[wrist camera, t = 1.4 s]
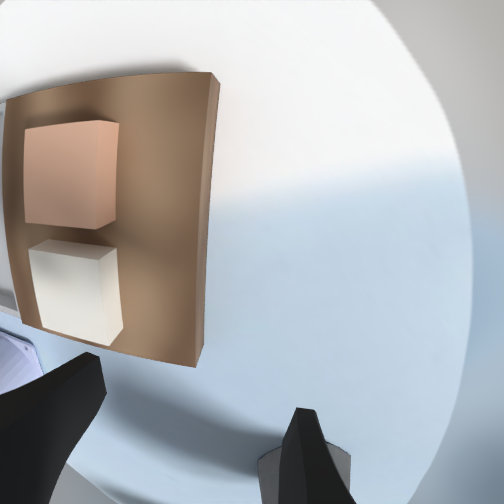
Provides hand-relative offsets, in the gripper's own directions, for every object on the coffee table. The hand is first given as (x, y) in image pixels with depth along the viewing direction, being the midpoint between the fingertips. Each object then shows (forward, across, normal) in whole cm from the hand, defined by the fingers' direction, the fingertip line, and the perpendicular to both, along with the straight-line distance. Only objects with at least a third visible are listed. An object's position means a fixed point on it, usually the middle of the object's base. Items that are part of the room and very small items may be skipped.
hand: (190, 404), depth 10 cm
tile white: (+6, +9, 0) cm, 11 cm away
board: (+9, +9, -3) cm, 13 cm away
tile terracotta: (+6, +9, -6) cm, 13 cm away
